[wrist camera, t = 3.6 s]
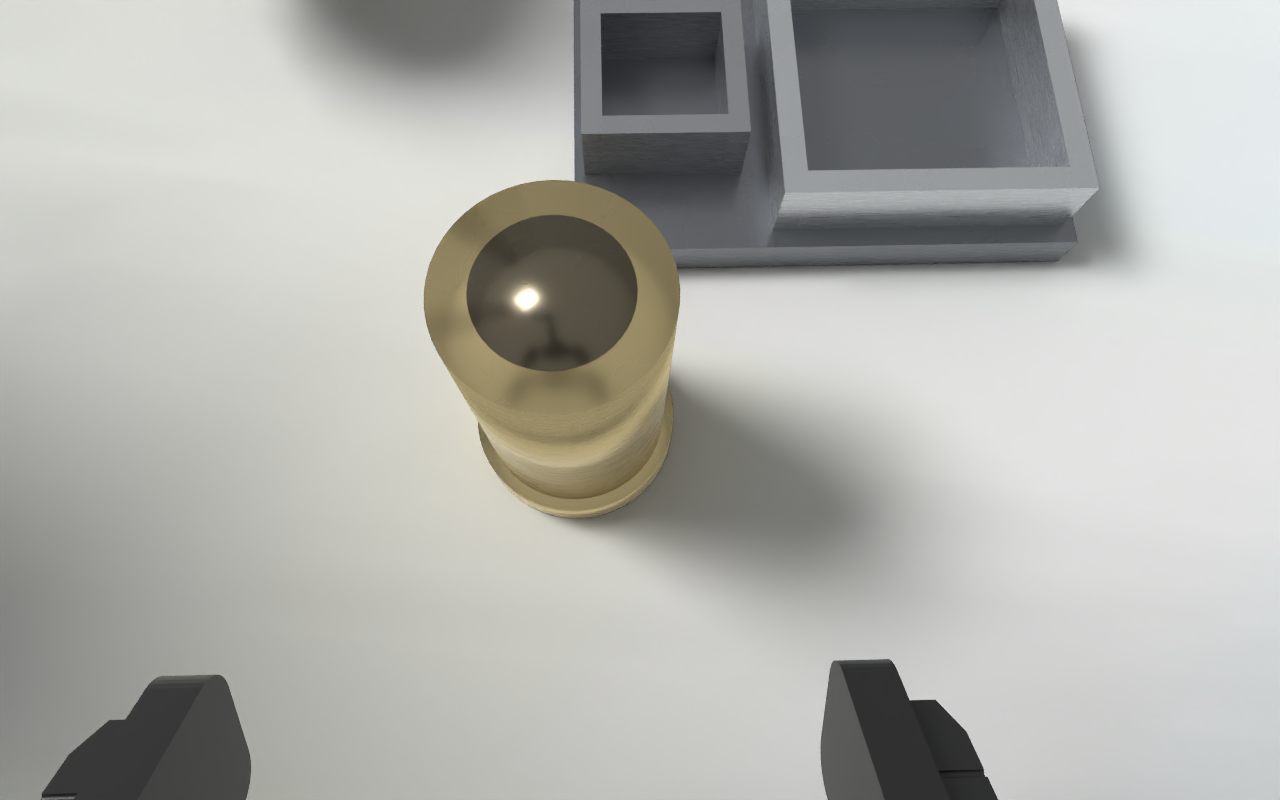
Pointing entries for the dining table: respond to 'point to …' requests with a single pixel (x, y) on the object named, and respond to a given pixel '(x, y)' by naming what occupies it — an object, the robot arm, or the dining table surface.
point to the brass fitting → (560, 341)
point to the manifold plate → (835, 128)
